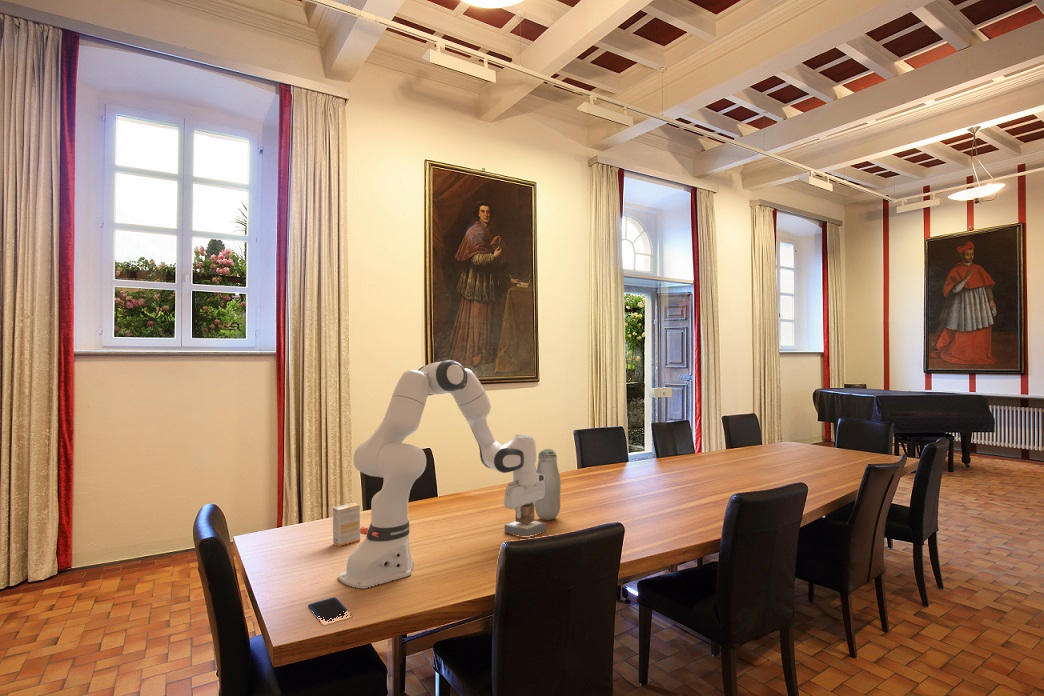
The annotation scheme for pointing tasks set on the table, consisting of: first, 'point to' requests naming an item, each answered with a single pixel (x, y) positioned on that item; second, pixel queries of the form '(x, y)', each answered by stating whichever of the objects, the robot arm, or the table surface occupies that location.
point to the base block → (525, 528)
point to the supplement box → (346, 524)
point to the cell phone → (328, 609)
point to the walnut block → (526, 514)
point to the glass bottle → (549, 485)
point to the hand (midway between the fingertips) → (525, 515)
